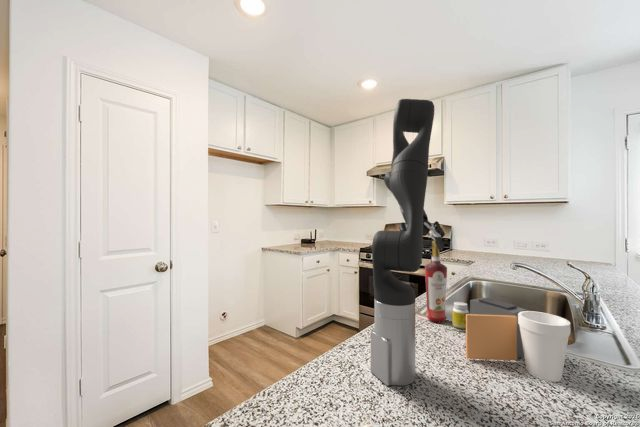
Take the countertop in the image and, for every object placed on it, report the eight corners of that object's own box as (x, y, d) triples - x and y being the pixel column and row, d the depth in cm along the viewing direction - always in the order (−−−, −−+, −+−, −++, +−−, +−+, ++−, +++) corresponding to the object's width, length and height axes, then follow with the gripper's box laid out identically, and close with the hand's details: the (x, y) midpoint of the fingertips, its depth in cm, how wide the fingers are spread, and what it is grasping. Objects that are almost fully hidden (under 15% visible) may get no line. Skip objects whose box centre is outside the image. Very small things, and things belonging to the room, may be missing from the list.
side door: (516, 360, 68) (516, 316, 69) (467, 358, 69) (467, 315, 70) (514, 359, 69) (514, 315, 69) (465, 356, 70) (465, 314, 70)
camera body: (513, 360, 70) (513, 310, 70) (470, 340, 81) (470, 298, 81) (527, 355, 72) (526, 307, 73) (483, 337, 83) (483, 295, 83)
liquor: (443, 317, 100) (443, 240, 100) (450, 324, 93) (450, 242, 93) (422, 315, 101) (422, 240, 101) (427, 323, 94) (427, 242, 94)
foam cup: (549, 389, 58) (549, 327, 58) (509, 366, 67) (508, 313, 67) (581, 382, 60) (580, 323, 61) (538, 360, 69) (537, 309, 70)
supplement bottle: (467, 333, 86) (467, 306, 86) (451, 329, 89) (451, 303, 89) (469, 328, 90) (469, 302, 90) (454, 325, 92) (454, 300, 93)
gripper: (397, 204, 93) (413, 244, 83) (435, 203, 96) (455, 242, 86) (390, 218, 99) (405, 257, 89) (426, 216, 102) (444, 254, 92)
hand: (429, 249), depth 88 cm, fingers open, 8 cm apart
